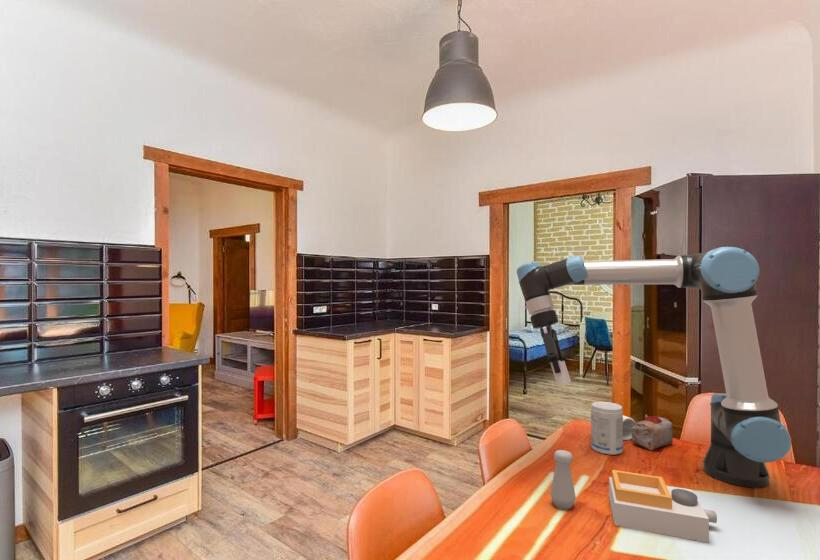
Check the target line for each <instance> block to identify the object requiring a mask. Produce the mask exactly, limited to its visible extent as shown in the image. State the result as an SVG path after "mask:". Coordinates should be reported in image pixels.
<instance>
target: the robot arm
mask: <svg viewBox="0 0 820 560" xmlns="http://www.w3.org/2000/svg"><path fill="white" fill-rule="evenodd" d="M516 275H517V278H518V284H519V286H520V290H521V293H522V295H523V298H524V303H525V306H524V309H525V310H527V311H528V314H529V315H530V317H529V319H530V322H531V326H532V328H533V329H536V330H537V329H539V331H540V336H541V338H542V342H543V344H544V348H545V352H546V356H547V357H546V363H547V364H550V367H551V371H552V373H553V376H554V379H555V384H556V386H557V387H562V386H565V385H568V384H569V383H572V380H571V377H570V374H569V371H568V368H567V365H566V361H567V357H566V356H565V355H564V354H563V351H562V349H561V346H560V342H559V339H558V335H557V332H556V330H555V329H554V328H553V327H552V325H556V324H558V323H559V319H558V315H557V313H556V310H555V305H554V301H553V299H552V296H551V293H550V291H551V290H554V289H558V288H561V287H565V286H573V285H575V286H583V285H585V286H586V285H587V286H589V285H590V286H591V285H597V286H598V285H609V286H610V285H613V286H614V285H624V286H625V285H674V286H676V287H677V288H680V289H681V288H682V289H683V288H684V289H697V290H700V292H701V298H702V302H703V303H705V304H707V305H708V306H709V307H710V309H711V314H712V315H711V316H712V320H713V327H714V331H715V332H714V333H715V338H716V339H715V340H716V343H717V349H718V355H719V360H720V366H721V371H722V377H723V382H724V389H725V393H724V392H723V393H722V392H721V393H720V392H719V393H718V392H717V393H713V394H712V395H711V397H710V399H711V401H710V403H709V405H710V444H709V446H708V449H707V451H706V453H705V456H704V458H703V462H702V469H703V470H702V471H704V473H706V474H707V475H709V476H711V478H714V479H717V480H719V481H721V482H724V483H728V484H731V485H735V486H740V487H746V488H765V486H766V487H768V486H769V485H770V474H769V470H768V467H767V465H766V464H767V463H773V462H777V461H780V460H781V459H783V458H784V457H785V456H786V455H787V454H789V451H790V449H791V446H792V437H791V434H790V432H789V431H788V429H787V427H786V426H785V425H784V424H783V423H782V421H781V415H780V410H779V404H778V403H777V402H776V401H775V400H773V399H772V398H770V396H769V393H768V388H767V381H766V377H765V372H764V365H763V359H762V356H761V355H762V354H761V349H760V344H759V339H758V333H757V328H756V327H757V326H756V323H755V316H754V311H753V306H752V303H753V301H754V300H755V299H757V297H758V292H757V286H756V283H757V280H758V279H759V275H760V265H759V263H758V260H757V259H756V257H754V255H753V254H751V253H750V252H749V251H748V250H745V249H742V248H739V247H735V246H721V247H717V248H713V249H711V250H707V251H703V252H700V253H694V254H686V255H683V254H682V255H677V256H676V257H675V258H667V259H666V258H665V259H662V258H659V259H625V260H619V259H618V260H591V261H590V260H585V261H584V259H583V257H582V256H581V255H574V256H569V257H566V258H564V259H561V260H558V261H556V262H552V263H550V264H549V263H548V264H547V265H541V263H540V262H539V261H538V260H537V261H536V260H535V261H530V262H526V263H523V264H521V265H519V266H518V267H517V268H516ZM767 485H768V486H767Z"/></svg>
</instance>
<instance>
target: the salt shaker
mask: <svg viewBox="0 0 820 560" xmlns="http://www.w3.org/2000/svg"><path fill="white" fill-rule="evenodd" d="M553 459H554V461H555V467H554V473H553V477H552V483H551V486H550V487H551V488H550V493H549V494H550V497H551V501H552V502H553V505H554V506H555V507H556V508H558V509H562V510H565V511H566V510H571V509H572V508H573V505H574V503H575V502H576V498H577V497H576V492H575V487H574V480H573V476H572V470H571V465H570V464H572V463H573V459H574V458H573V454H572V453H571V452H570V451H567V450H564V449H558V450H555V452H554V454H553Z"/></svg>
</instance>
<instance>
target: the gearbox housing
mask: <svg viewBox="0 0 820 560" xmlns="http://www.w3.org/2000/svg"><path fill="white" fill-rule="evenodd" d="M608 499H609V502H610V503H609V504H610V509H611V514H612V518H613V523H614V526H617V527H622V528H626V529H627V528H628V529H632V530H638V531H643V532H648V533H655V534H661V535H665V536H670V537H674V538H675V537H676V538H680V539H681V538H682V539H685V540H686V539H687V540H693V541H698V542H703V543H708V544H709V543H710V523H713V524H717V523H718V518H717V512H716V511H715V510H710V509H704V508H703V506H702V505H701V503H700V502H699V500H698V496H697V495H696V493H694V491H693V490H692V489H690V488H685V487H677V486H673V485H671V486H670V485H666V482H665V480H664V478H663V477H662V476H657V475H650V474H643V473H636V472H630V471H622V470H616V469H611V476H609V477H608Z"/></svg>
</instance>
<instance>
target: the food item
mask: <svg viewBox="0 0 820 560" xmlns="http://www.w3.org/2000/svg"><path fill="white" fill-rule="evenodd" d="M635 423H636V424H635V425H634V426H633V427H632V439H631V440H632V441H633V442H632V443H635V444H636V445H637V446H639V447H642V448H643V447H644V449H646V450H648V451H654V450H656V449H658V448H662V447H665V446H667V445H672V444H673V442H674V441H673V423H672V422H671V421H670V420H669V419H666V418H665V417H660V416H656V415H654V416H652V415H651V416H649V415H648V414H645V415H644V420H640V421H635Z"/></svg>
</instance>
